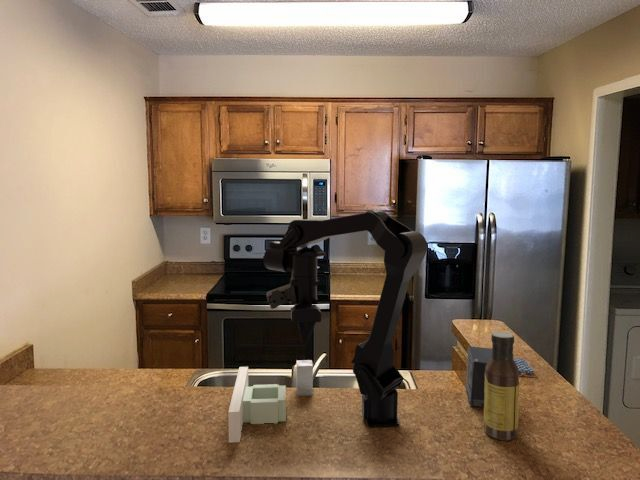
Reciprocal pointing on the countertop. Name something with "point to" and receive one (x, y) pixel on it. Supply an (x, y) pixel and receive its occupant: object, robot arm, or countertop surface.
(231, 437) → the backstop wall
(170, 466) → the countertop surface
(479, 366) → the small box
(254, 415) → the socket block
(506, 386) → the sauce bottle
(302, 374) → the grey square block
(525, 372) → the woven mat
